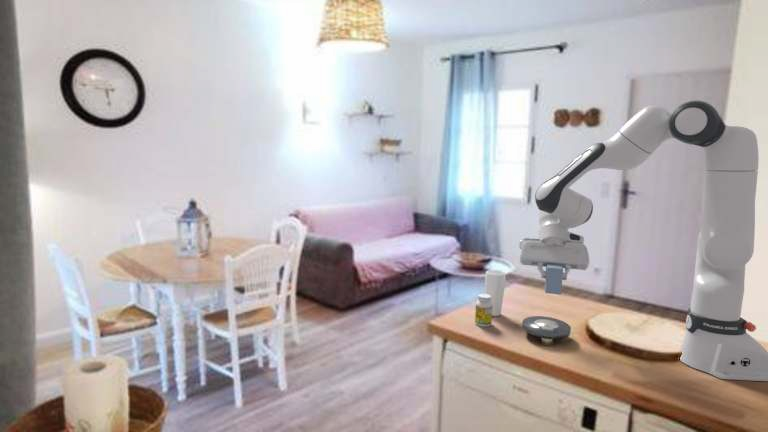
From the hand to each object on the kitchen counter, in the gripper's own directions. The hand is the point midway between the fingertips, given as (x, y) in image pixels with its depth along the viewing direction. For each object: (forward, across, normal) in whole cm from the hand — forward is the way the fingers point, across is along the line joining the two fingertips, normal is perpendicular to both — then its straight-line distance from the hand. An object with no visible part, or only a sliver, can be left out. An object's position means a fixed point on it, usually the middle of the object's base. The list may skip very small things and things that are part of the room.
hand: (553, 278), depth 140 cm
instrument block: (+3, 0, +4) cm, 4 cm away
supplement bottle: (+11, -20, +16) cm, 28 cm away
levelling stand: (+14, -1, +12) cm, 19 cm away
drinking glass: (+4, -17, +23) cm, 29 cm away
